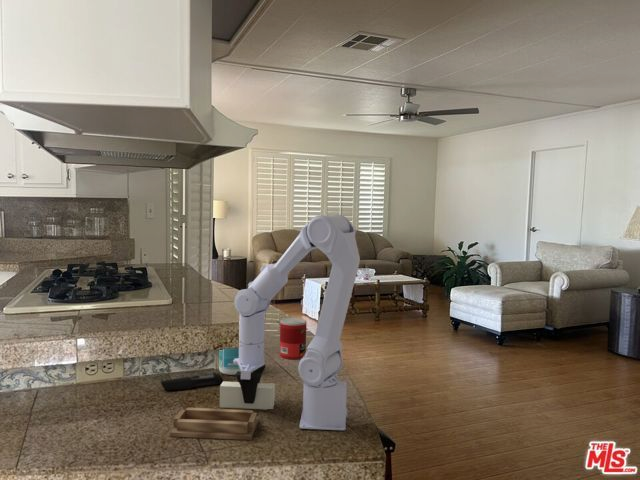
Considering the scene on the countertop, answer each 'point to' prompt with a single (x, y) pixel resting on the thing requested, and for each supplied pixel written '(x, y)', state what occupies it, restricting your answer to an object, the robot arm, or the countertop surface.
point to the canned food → (292, 338)
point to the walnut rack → (215, 423)
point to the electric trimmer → (192, 381)
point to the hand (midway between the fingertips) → (250, 399)
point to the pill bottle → (228, 361)
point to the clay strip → (234, 397)
